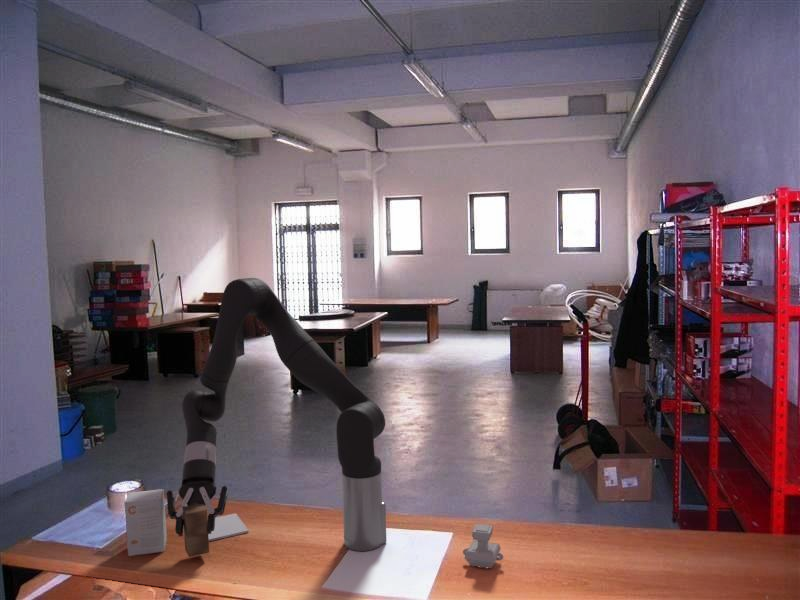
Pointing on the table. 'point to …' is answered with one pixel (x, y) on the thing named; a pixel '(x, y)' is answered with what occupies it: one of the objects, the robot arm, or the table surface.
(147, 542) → the small box
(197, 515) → the walnut block
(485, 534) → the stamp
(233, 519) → the grey mat
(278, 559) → the table surface
